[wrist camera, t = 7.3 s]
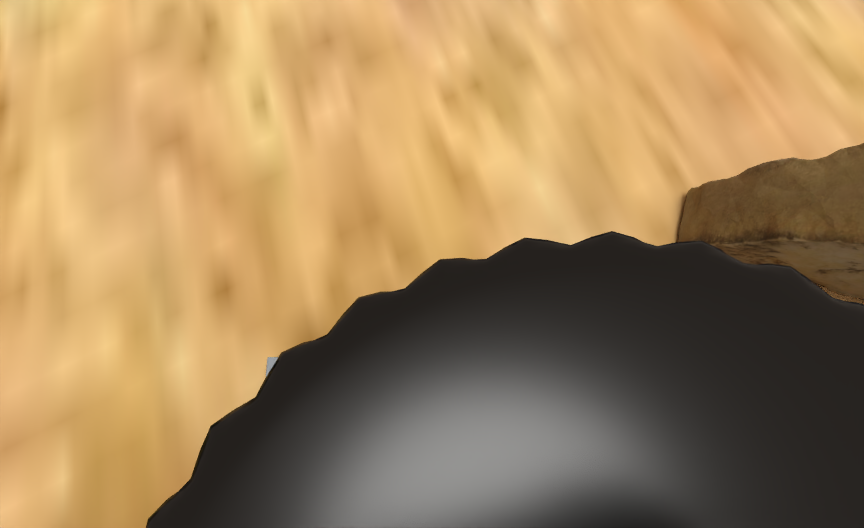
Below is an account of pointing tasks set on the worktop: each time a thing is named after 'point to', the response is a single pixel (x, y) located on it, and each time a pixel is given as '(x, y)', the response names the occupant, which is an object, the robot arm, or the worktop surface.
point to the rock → (789, 217)
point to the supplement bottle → (555, 402)
